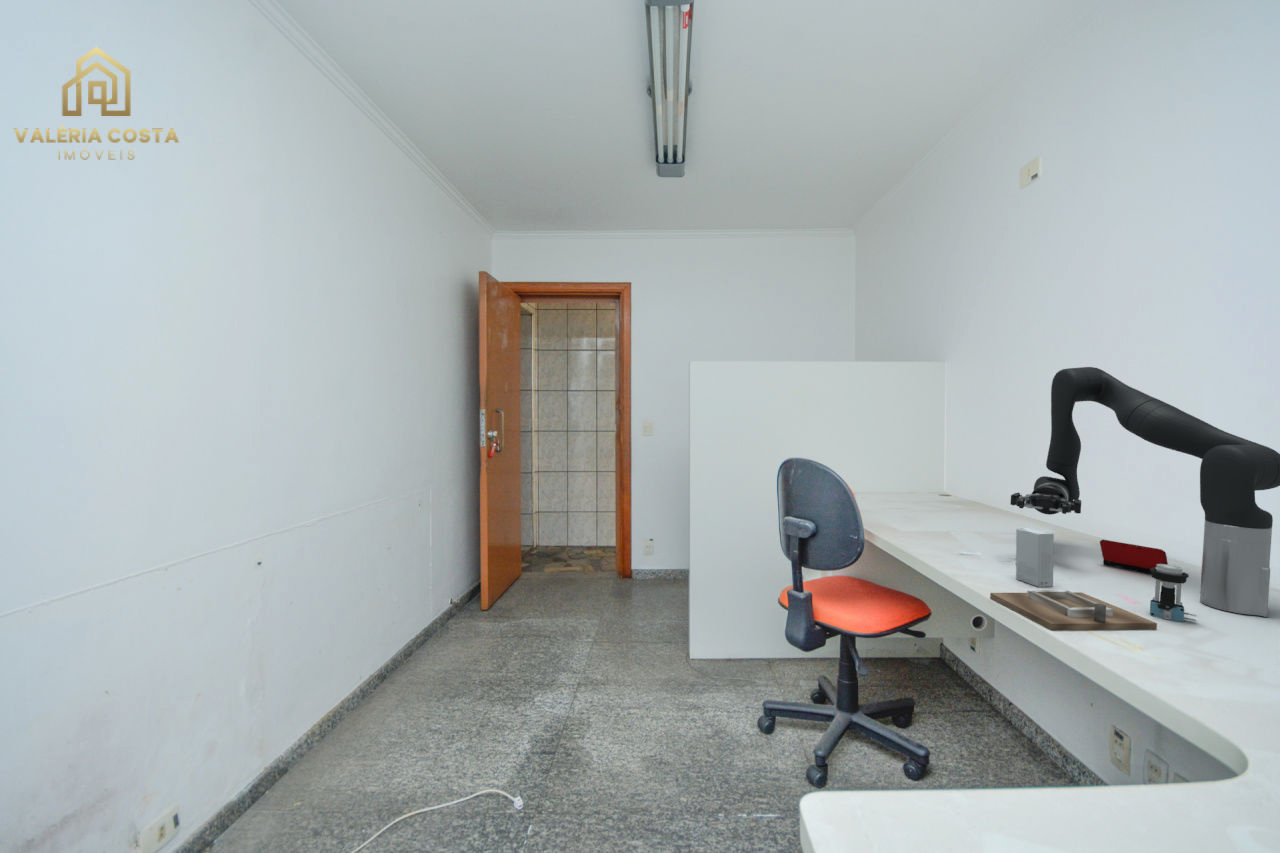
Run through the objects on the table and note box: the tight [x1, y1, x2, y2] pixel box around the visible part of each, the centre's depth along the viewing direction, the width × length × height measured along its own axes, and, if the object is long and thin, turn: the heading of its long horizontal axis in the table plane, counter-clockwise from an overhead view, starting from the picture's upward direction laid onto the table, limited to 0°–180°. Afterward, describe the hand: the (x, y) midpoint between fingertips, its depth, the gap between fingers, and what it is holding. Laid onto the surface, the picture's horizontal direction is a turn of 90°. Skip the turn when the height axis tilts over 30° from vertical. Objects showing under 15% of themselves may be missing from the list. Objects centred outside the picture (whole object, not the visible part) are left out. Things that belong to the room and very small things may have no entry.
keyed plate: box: [989, 589, 1158, 631], centre depth 107 cm, size 20×16×4 cm
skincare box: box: [1015, 527, 1055, 588], centre depth 124 cm, size 6×4×12 cm
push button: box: [1149, 564, 1197, 623], centre depth 104 cm, size 7×5×10 cm
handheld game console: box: [1099, 539, 1169, 575], centre depth 136 cm, size 12×11×7 cm
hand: (1042, 506), depth 132 cm, fingers open, 8 cm apart
